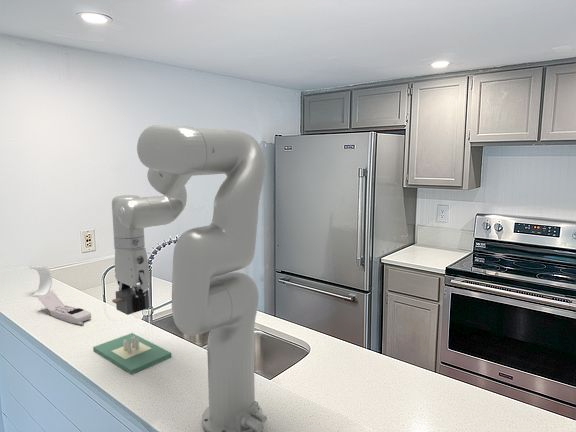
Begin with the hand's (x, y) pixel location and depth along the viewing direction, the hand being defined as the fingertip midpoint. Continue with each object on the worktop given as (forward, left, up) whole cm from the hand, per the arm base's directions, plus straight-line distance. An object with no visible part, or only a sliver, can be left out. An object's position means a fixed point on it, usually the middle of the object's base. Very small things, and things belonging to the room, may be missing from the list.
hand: (132, 306), depth 114 cm
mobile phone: (+44, 0, -15) cm, 47 cm away
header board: (+2, 0, -14) cm, 14 cm away
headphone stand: (+74, -4, -14) cm, 75 cm away
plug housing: (0, 0, 0) cm, 0 cm away
